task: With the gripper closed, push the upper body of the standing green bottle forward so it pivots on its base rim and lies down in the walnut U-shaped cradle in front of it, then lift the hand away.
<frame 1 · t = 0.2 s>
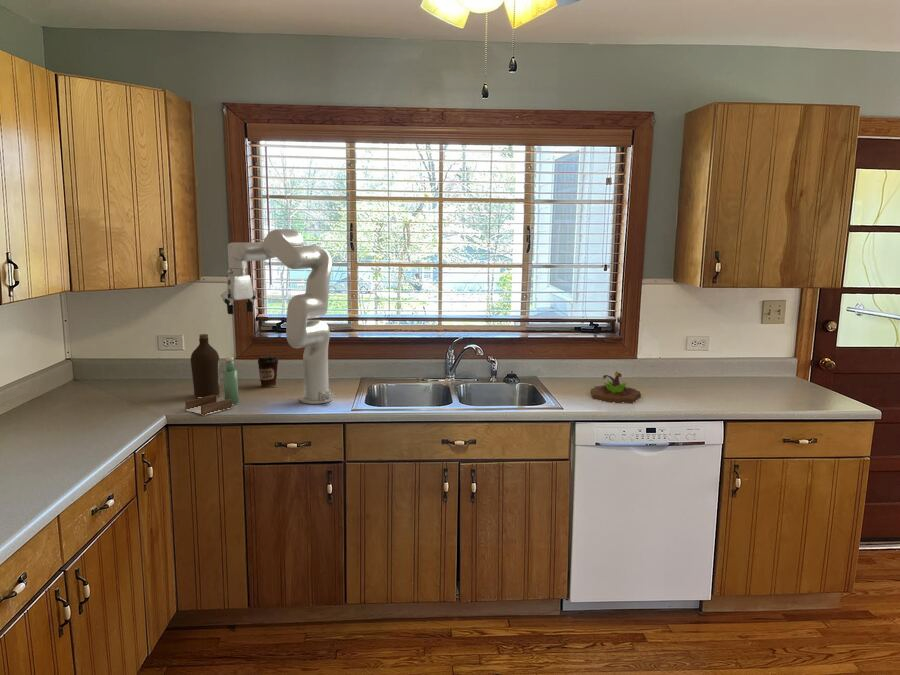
hand: (240, 312, 272), 31 cm above the countertop, tool pointing down, fingers open, 9 cm apart
olive oil: (207, 396, 257), on the countertop
bottle: (232, 403, 246), on the countertop
coffee cup: (269, 386, 273), on the countertop
plant: (614, 397, 262), on the countertop
cradle: (209, 409, 238), on the countertop
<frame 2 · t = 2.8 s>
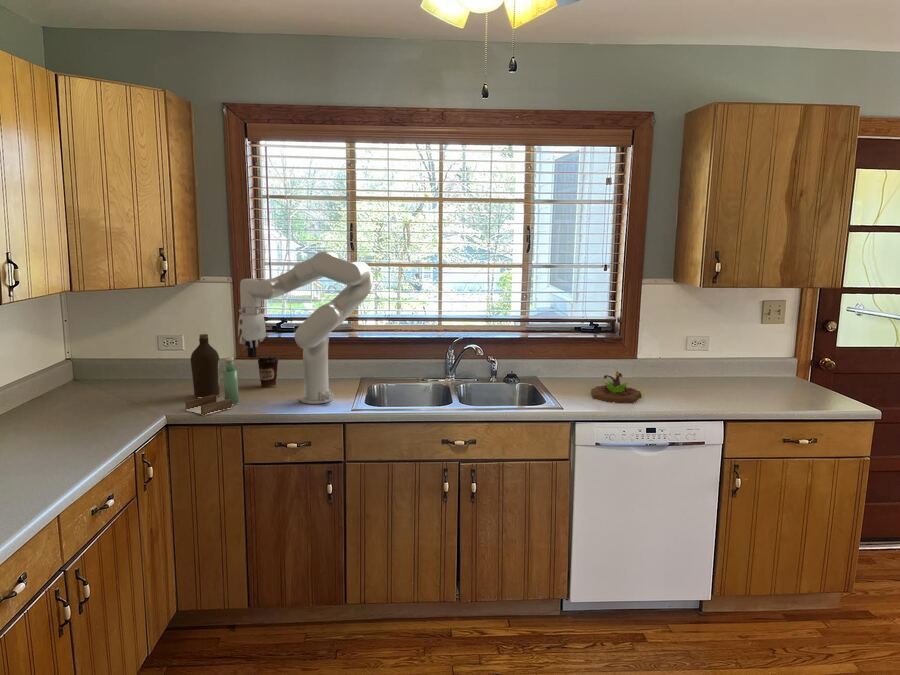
hand: (252, 356, 252), 17 cm above the countertop, tool pointing down, fingers closed
nothing on the countertop moved.
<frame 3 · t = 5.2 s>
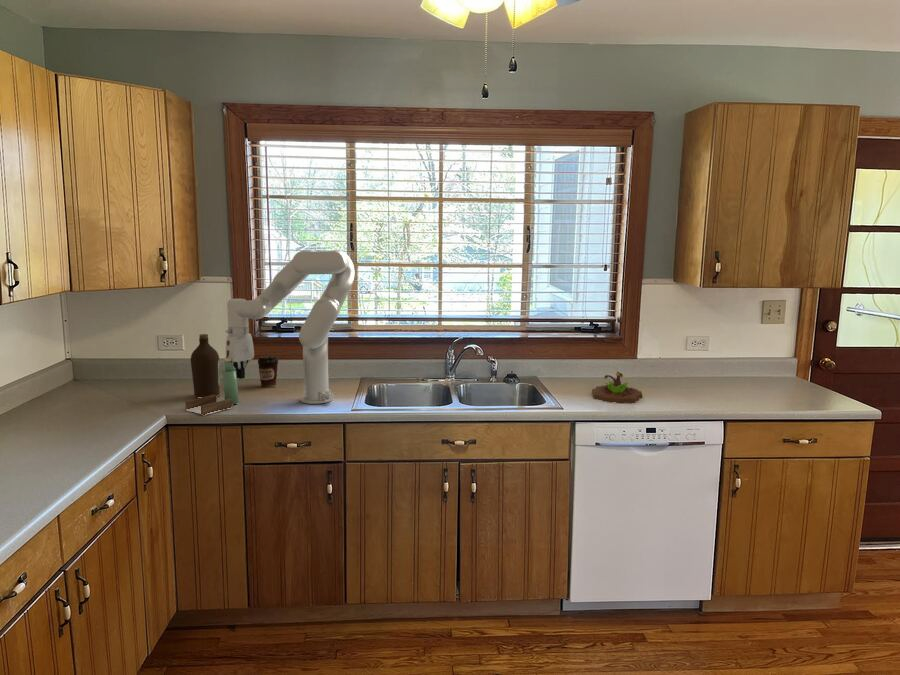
hand: (240, 377, 248), 9 cm above the countertop, tool pointing down, fingers closed
bottle: (232, 403, 246), on the countertop, touching gripper
everything else where it was.
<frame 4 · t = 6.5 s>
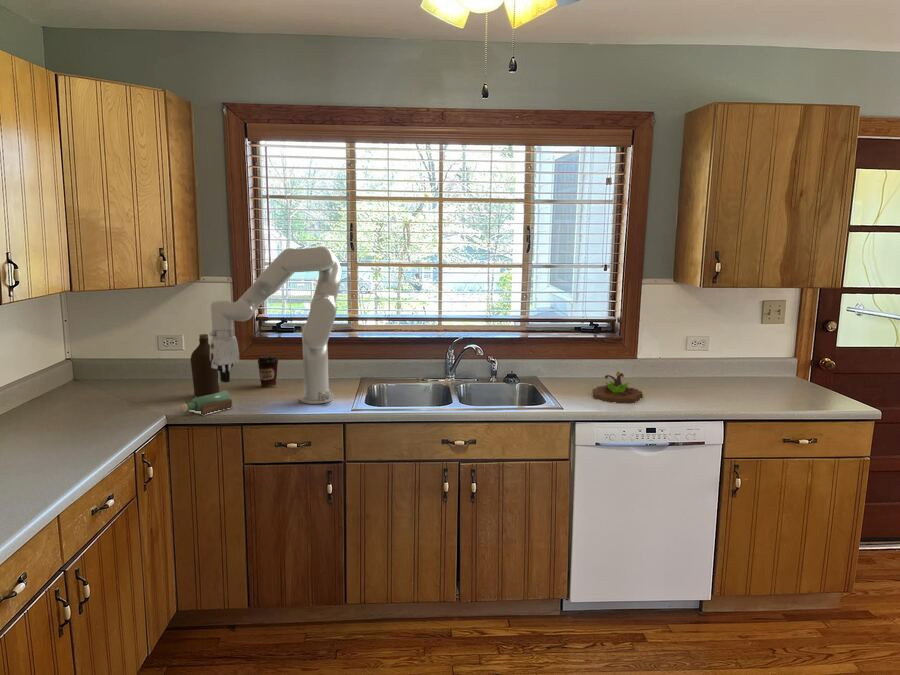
hand: (225, 381, 243), 9 cm above the countertop, tool pointing down, fingers closed
bottle: (226, 397, 244), point 3 cm above the countertop, tilted 90°, touching cradle
everything else where it was.
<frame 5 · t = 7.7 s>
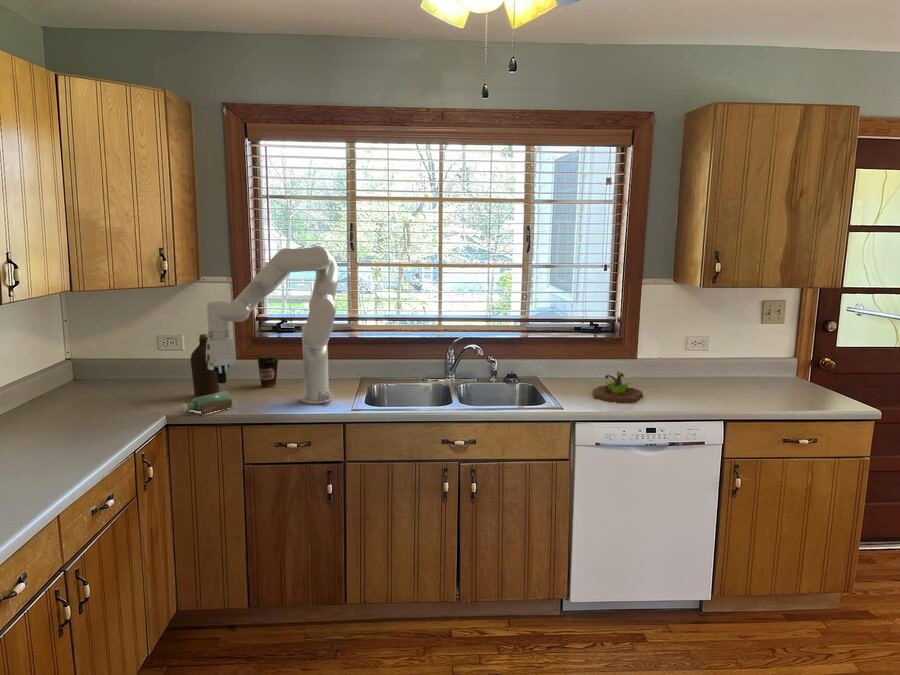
hand: (221, 382, 241), 9 cm above the countertop, tool pointing down, fingers closed
nothing on the countertop moved.
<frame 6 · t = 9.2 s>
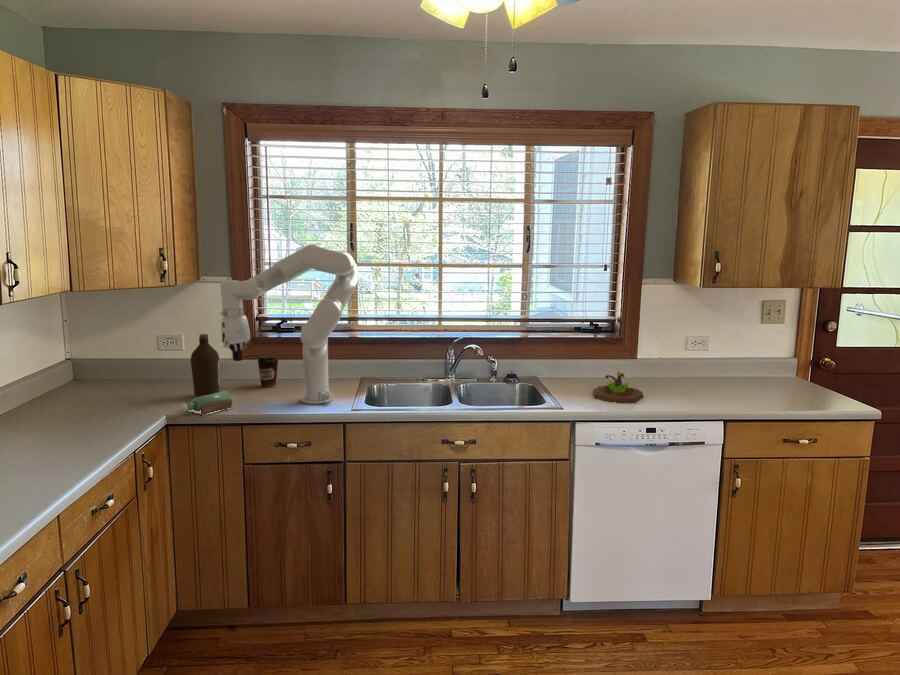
hand: (237, 360, 245), 17 cm above the countertop, tool pointing down, fingers closed
nothing on the countertop moved.
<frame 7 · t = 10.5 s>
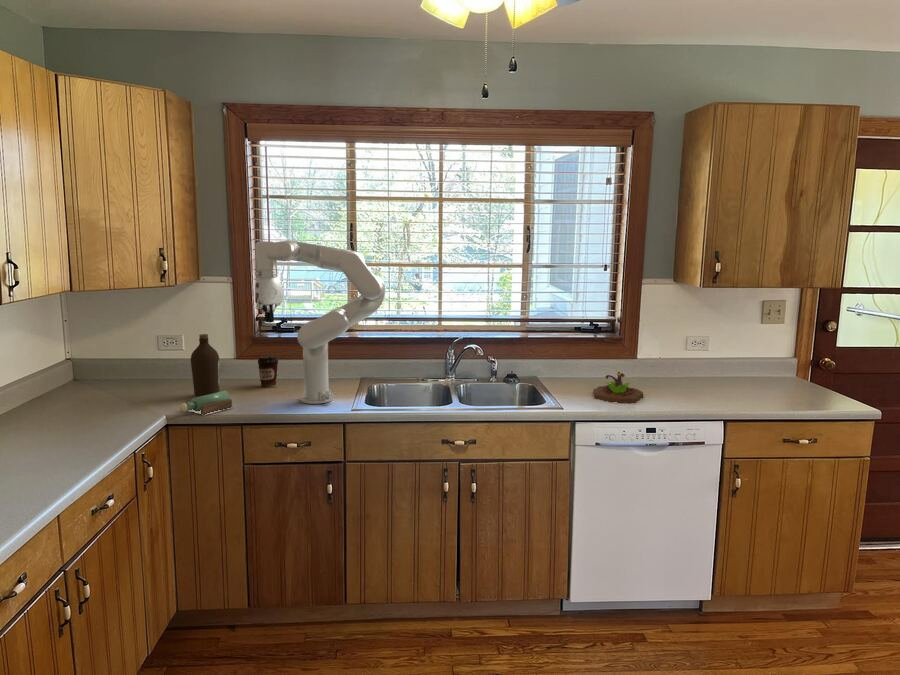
hand: (269, 321, 247), 31 cm above the countertop, tool pointing down, fingers closed
nothing on the countertop moved.
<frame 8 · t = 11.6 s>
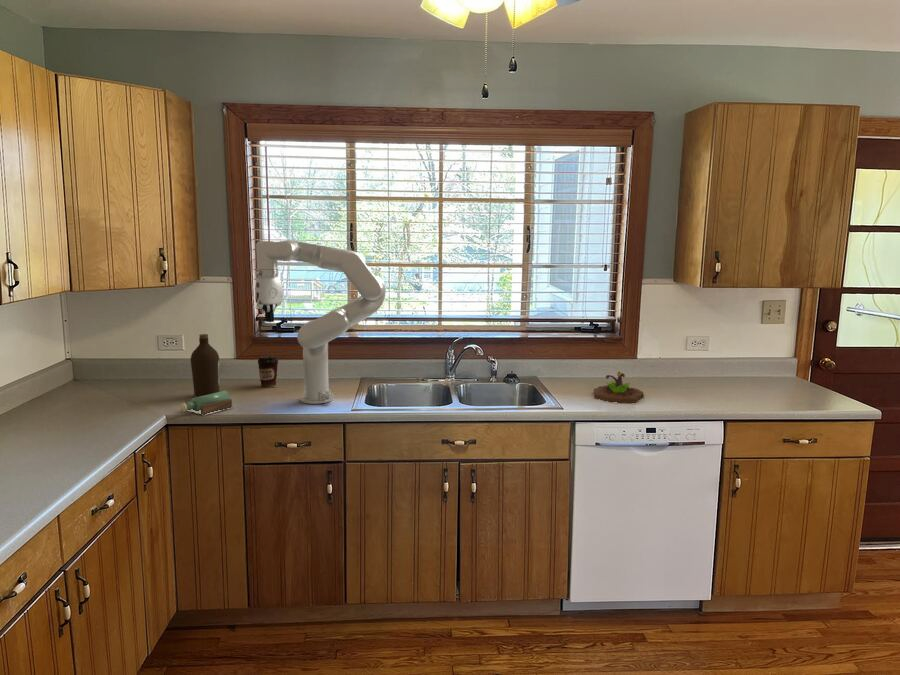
hand: (269, 321, 247), 31 cm above the countertop, tool pointing down, fingers closed
at the end: bottle tilted 90°; bottle touching cradle; bottle inside the target area on the cradle (1.2 cm from its centre), point 3.1 cm above the cradle's base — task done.
